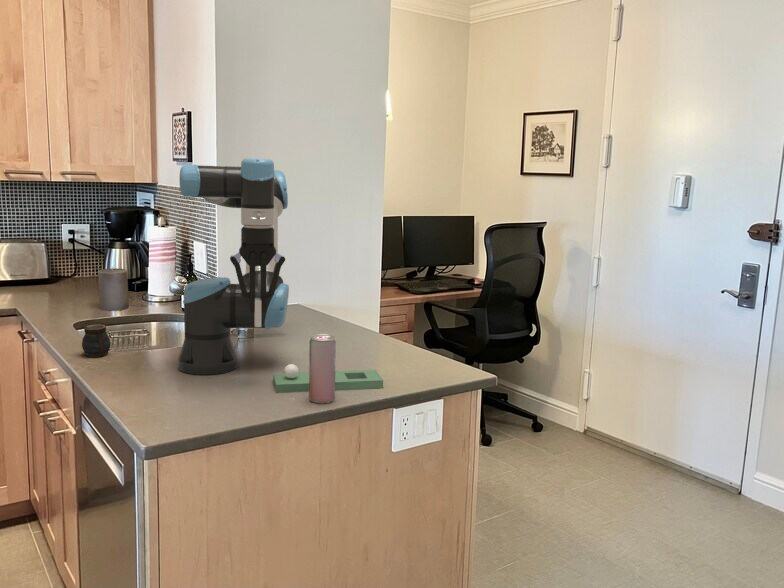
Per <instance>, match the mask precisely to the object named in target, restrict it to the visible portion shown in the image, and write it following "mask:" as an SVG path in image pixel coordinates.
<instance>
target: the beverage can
mask: <svg viewBox="0 0 784 588" xmlns="http://www.w3.org/2000/svg"><path fill="white" fill-rule="evenodd" d="M336 347H337V340H336V337H335V336H334V335H332V334H328V333H319V334H318V333H317V334H313V335H311V336H310V340H309V348H308V349H309V351H308V352H309V353H308V355H309V358H308V359H309V366H308V372H309V391H308V398H309V400H310V401H311V402H312V403H315V404H319V405H320V404H330V403H332V402H333V401H334V399H335V398H336V390H335V371H336V356H337V355H336V354H337V353H336V350H337V348H336Z"/></svg>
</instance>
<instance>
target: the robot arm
mask: <svg viewBox="0 0 784 588" xmlns="http://www.w3.org/2000/svg"><path fill="white" fill-rule="evenodd" d="M287 185H288V184H287V180H286V175H285V174H284V172H283V171H282V170H280V169H275V162H274V161H273V160H272V159H268V158H267V159H266V158H242V160H241V163H240V166H225V165H224V166H221V165H199V164H198V165H197V164H192V165H191V164H190V165H187V164H186V165H182V166H181V167H180V171H179V191H180V193H181V195H182V196H183V197H190V198H202V199H203V200H204V201H206V202H208V203H210V204H214V205H217V206H220V207H225V208H230V209H231V208H232V209H240V223H241V225H242V227H241V228H240V233H241V235H240V236H241V237H240V238H241V239H240V242H241V244H240V247H239V249H238V250H239V251H238V252H237V253H236V254H234V255H233V254H232V255H231V256H230V257H229V260H230V262H231V264H232V265H233V267H234V269H235V273H236V277H237V281H238V283H231V282H232V281H231V280H230V278H228V277H225V276H223V277H220V276H219V277H218V276H217V277H208V278H201V279H198V280H193V281H191V282H189V283H187V284H186V285H185V286H184V288H183V301H182V304H183V311H184V312H183V315H184V316H183V320H184V324H183V325H184V329H183V330H184V340H183V343H182V347H181V350H180V353H179V355H178V360H177V363H178V364H177V366H178V370H179V371H181V372H183V373H187V374H190V375H191V374H192V375H200V376H201V375H208V376H209V375H218V374H225V373H227V372H230V371H234V370H235V369H237V367H238V356H237V352H236V350H235V347H234V344H233V342H232V341H233V340H232V339H231V338H232V337H231V329H266V330H267V329H271V328H272V329H275V328H277V329H278V328H281V327H283V326H284V324H285V322H286V318H287V311H288V302H289V291H290V286H289V284H287V283H284V279H283V277H282V275H280V272H281V269H282V266H283V265H284V263H285V262H286V257H285V256H284V255H282V254H281V253H279V252H278V251H279V250H278V248H279V247H278V244H279V243H278V241H279V239H278V236H279V233H278V232H279V229H278V228H279V227H278V226H279V225H278V224H279V223H278V220H279V219H278V218H279V217H280V216H281V215H282V212H283V210H286V209H287V208H288V205H289V204H288V203H289V200H288V199H289V198H288V187H287ZM241 258H242V259H243V261H245V273H244V274H243V271H242V268H241V264H240V263H241V261H242V259H241Z"/></svg>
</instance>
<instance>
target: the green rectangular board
mask: <svg viewBox="0 0 784 588" xmlns="http://www.w3.org/2000/svg"><path fill="white" fill-rule="evenodd" d="M272 380H273V385H274V391H275V393H276V394H277V393H280V394H281V393H301V392H303V393H304V392H309V371H306V372H305V371H304V372H299V373H298V375H297V376H296V377H295V378H292V379H290V378H287V377H286V376H285V374H284V372H280V373H279V372H275V373H273V379H272ZM383 388H384V379H383V378H382V377H381V375H380V373H378V371H377V370H376V369H362V370H361V369H359V370H335V391H344V390H345V391H347V390H365V389H366V390H368V389H371V390H372V389H383Z"/></svg>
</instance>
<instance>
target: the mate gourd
mask: <svg viewBox="0 0 784 588" xmlns="http://www.w3.org/2000/svg"><path fill="white" fill-rule="evenodd" d="M79 324H80V325H81V326H83V331H84V336H83V337H82V340H81V347H82V351H83V353H84V354H85V355H87V357H91V358H100V357H104V356H106V355H107V354H108V353H109V352H110V347H111V340H110V337H109V336H108V334H107V326H106V325H105V324H90V325H85V324H84V323H83V322H82V321H79Z"/></svg>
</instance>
